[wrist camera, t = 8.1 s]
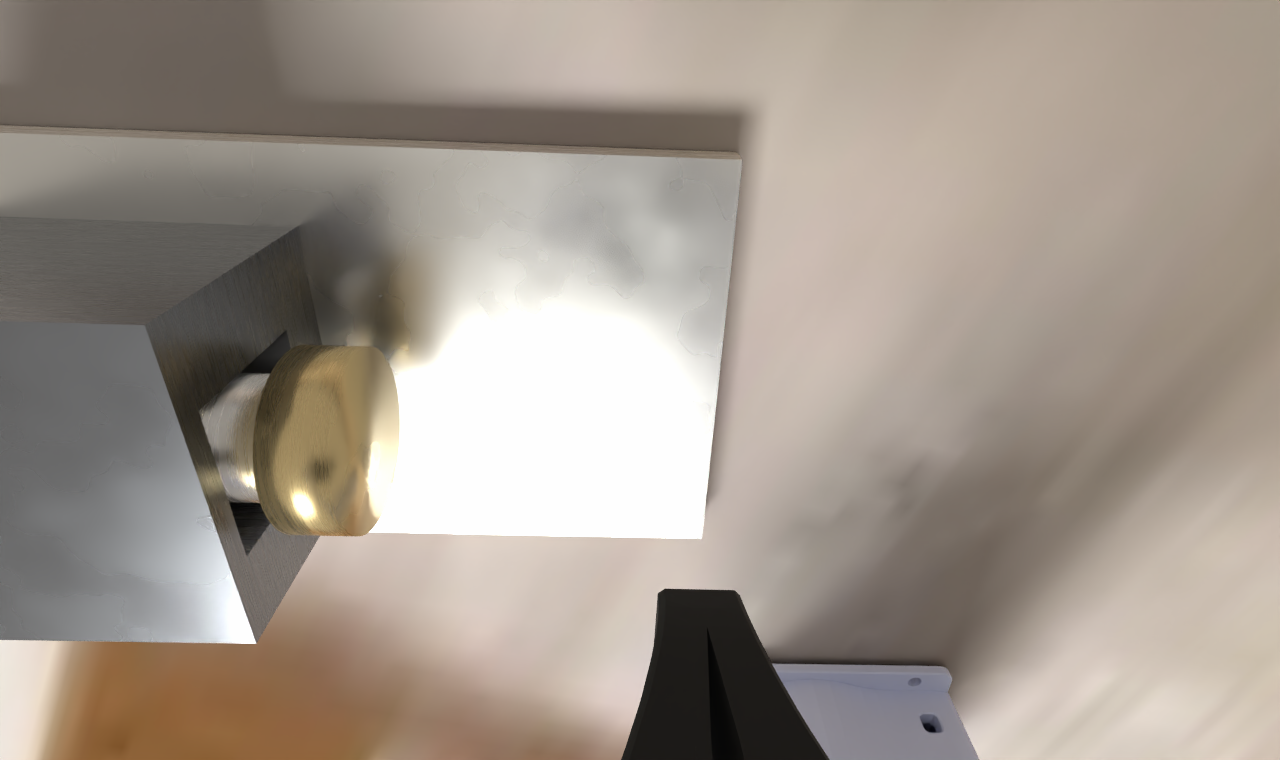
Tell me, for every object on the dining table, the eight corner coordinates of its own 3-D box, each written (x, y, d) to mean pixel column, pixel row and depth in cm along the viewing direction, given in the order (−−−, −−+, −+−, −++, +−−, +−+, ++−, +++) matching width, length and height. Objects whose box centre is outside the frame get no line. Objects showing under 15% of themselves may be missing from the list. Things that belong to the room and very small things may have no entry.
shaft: (385, 316, 17) (310, 408, 13) (408, 461, 19) (350, 578, 15) (-231, 298, 16) (-501, 388, 12) (-135, 448, 18) (-340, 566, 14)
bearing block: (736, 151, 17) (796, 232, 11) (699, 518, 23) (724, 705, 17) (-160, 119, 16) (-632, 185, 10) (36, 504, 22) (-191, 693, 16)
